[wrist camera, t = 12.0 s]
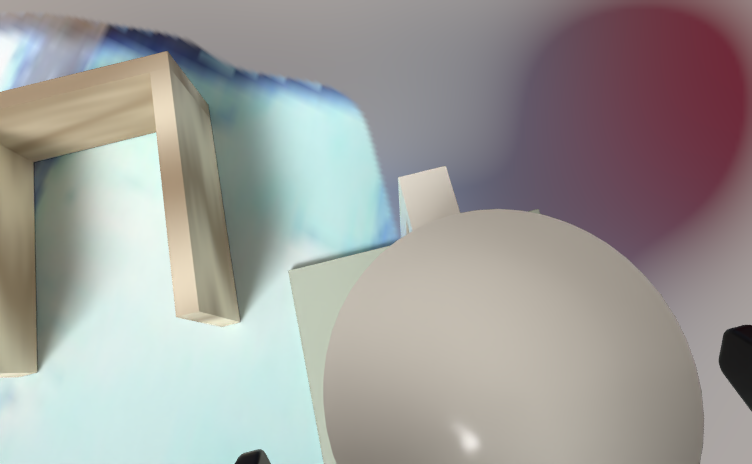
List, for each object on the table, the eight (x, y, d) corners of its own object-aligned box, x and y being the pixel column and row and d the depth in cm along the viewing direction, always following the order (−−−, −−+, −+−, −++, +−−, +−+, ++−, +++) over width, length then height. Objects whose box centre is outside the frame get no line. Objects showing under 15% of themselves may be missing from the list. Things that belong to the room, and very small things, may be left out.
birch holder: (240, 322, 19) (199, 311, 16) (18, 377, 19) (-78, 379, 15) (208, 104, 22) (167, 51, 19) (17, 151, 22) (-64, 107, 19)
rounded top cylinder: (548, 436, 17) (776, 549, 7) (392, 475, 17) (368, 651, 7) (484, 236, 19) (576, 82, 9) (346, 270, 19) (274, 156, 9)
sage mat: (636, 487, 17) (640, 489, 16) (343, 561, 17) (342, 564, 16) (536, 211, 20) (538, 209, 20) (289, 272, 20) (288, 270, 20)
